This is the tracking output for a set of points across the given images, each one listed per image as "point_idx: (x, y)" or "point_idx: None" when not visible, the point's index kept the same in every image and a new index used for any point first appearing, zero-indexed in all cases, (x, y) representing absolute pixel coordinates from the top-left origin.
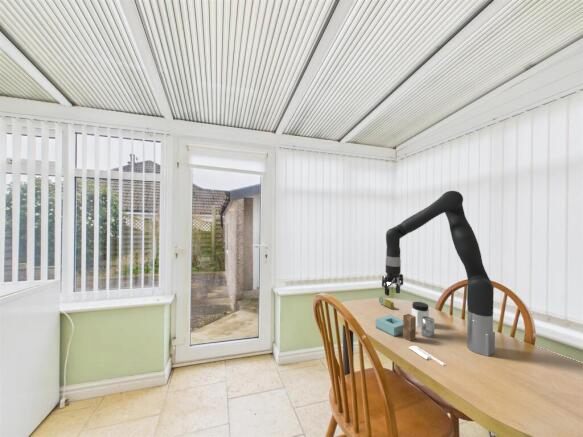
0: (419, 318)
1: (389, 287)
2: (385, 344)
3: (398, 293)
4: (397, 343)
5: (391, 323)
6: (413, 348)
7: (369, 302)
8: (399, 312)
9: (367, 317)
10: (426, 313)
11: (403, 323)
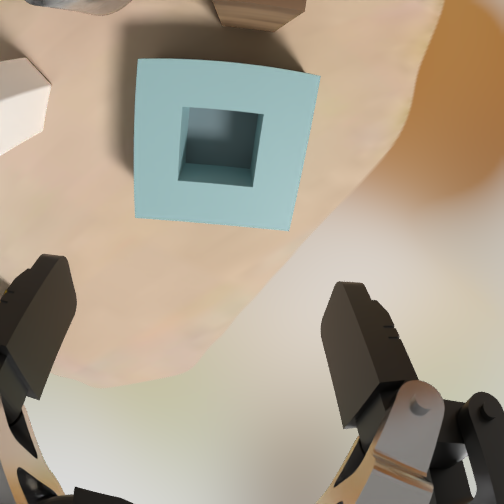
0: (15, 85)
1: (390, 410)
2: (411, 72)
3: (66, 259)
4: (354, 31)
5: (269, 124)
6: None
7: (72, 367)
8: (8, 250)
9: (204, 297)
10: None
11: (288, 20)
